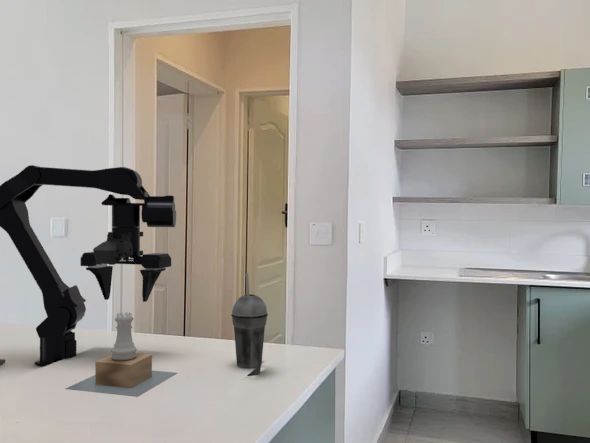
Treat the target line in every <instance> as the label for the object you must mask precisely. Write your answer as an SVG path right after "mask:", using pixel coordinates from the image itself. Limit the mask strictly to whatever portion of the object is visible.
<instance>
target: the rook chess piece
mask: <svg viewBox="0 0 590 443" xmlns="http://www.w3.org/2000/svg"><path fill="white" fill-rule="evenodd" d="M114 320H115V322H116V323H117V324H116V327H115V328H116V340H115V344H113V345H114V346H113V347H112V348H111V355H112V356H111V357H112V358H113V360H116V361H127V360H132V359H134V358H135V357H136V356H137V354H138V353H136V351H137V347H136V346H135V344H134V342H133V337H132V328H133V326H132V322H133V321H134V317H133V316H132V313H131V312H124V313H123V312H118V313H116V317H115V318H114Z"/></svg>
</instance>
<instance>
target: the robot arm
mask: <svg viewBox="0 0 590 443" xmlns="http://www.w3.org/2000/svg"><path fill="white" fill-rule="evenodd" d="M142 180H143V179H142V177H141V175H140V174H139V172H138V171H136V170H134V169H132V168H129V167H126V166H118V167H110V168H103V169H96V170H95V169H94V170H92V169H91V170H88V169H76V168H60V167H59V168H57V167H47V166H38V165H35V164H33V165H32V164H31V165H27V166H26V167H25V168H23V169H22V170H21V171H20V172H18V173H17V174H16V175H13V177H11V178H9V179H7V180H5V181H4V182H3V183H2V184H0V228H1V229H2V230H4V231H5V233H7V235H8V236H9V237H10V240H11V241H12V243H13V244H14V247H15V248H16V250H17V251H18V253H19V255H20V257H21V258H22V260H23V262H24V264H25V266H26V267H27V269H28V271H29V272H30V274H31V276H32V278H33V279H34V282H35V283H36V285H37V286H38V288H39V289H40V291H41V294H42V302H43V309H44V311H45V313H46V317H45V319H44V320H43V321H41V322H40V323H39V324H38V325H37V327H35V331H36V333H37V334H36V335H37V336H38V338H39V360H37V361H34V365H35V366H44V367H45V366H49V365H52V364H54V363H57V362H60V361H63V360H66V359H67V360H69V359H72V358H75V357H76V356H77V340H76V333H75V332H74V331H72V330H75V329H76V326H77V324H78V322H80V321H82V319H84V316H85V314H86V310H87V309H86V305H85V302H87V300H86V299H85V298H84V297H83V295H81V292H80V290H79V287H78V285H77V284H75V285H73V286H71V287H70V286H68V285H67V284H66V283H65V282H64V281H63V279H62V278H61V276H60V274H59V273H58V271H57V269H56V268H55V266H54V263H53V262H52V260H51V258H50V257H49V255H48V254H47V252H46V249H44V247H43V245H42V243H41V241H40V240H39V237H38V236H37V235H36V233H35V231H34V229H33V227H32V226H31V223H30V218H29V210H28V207H27V205H26V202H28V201H29V200H30V199H32V197H33V196H34V195H35V193H36V192H38V190H39V189H40V188H41V187H43V186H56V187H57V186H58V187H70V188H73V187H74V188H89V189H97V190H102V191H105V192H110V193H114V194H117V195H123V196H130V197H131V198H132V199H134V200H138V201H143V202H131V199H130V198H129V197H115V195H114V194H108V196H107V198H105V199H103V201H102V202H101V206H111V231H108V232H107V235H106V236H107V238H106V240H105V241H102V242H101V243H100V244H98V245H96V246H95V247H93V251H88V252H83V253H82V255H81V256H80V267H85V269H86V271H89V272H90V273H92V274H93V275H94V276H95V279H96V281H97V284H98V286H99V288H100V291H101V293H102V296H103V299H104V300H106V301H107V300H110V296H111V292H112V291H111V290H112V289H111V288H112V278H113V271H114V270H113V269H114V265H138V266H139V265H141V266H142V268H143V269H140V270H139V271H140V274H141V276H142V289H141V290H142V292H141V294H142V295H141V296H142V302H143V303H146V302H147V301H148V300H149V297H150V295H151V294H152V290H153V289H154V286H155V284H156V282H157V281H158V278H159V277H160V275H161V273H162V272H164V271H166V269H167V268H168V267H169V268H170V267H172V257H171V255H170V254H169V253H164V252H163V253H162V252H161V253H159V252H157V253H155V252H154V253H153V252H152V253H147V254H144V250H141V237H144V231H141V221H142V223H143V224H144V223H146V226H147V227H148V228H176V225H177V223H176V222H177V210H176V204H175V196H174V195H162V196H161V195H160V196H159V195H157V196H155V195H154V196H153V195H150V194H149V192H148V191H147V190H146V188H145V187H144V186H143V181H142Z"/></svg>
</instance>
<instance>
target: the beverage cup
mask: <svg viewBox="0 0 590 443" xmlns="http://www.w3.org/2000/svg"><path fill="white" fill-rule="evenodd" d="M245 285H246V286H245V287H246V288H245V289H246V294H244V295H242V296H240V297H239V298H238V299H237V300H236V301H235V302H234V304H233V306H232V312H231V317H232V318H231V321H232V325H233V332H234V344H235V358H236V360H235V361H236V366H237V367H238V368H241V369H245V370H246V369H254V370H252V371H250V372H249V373H248V374H247V375H246V377H251V376H258V375H260V374H261V370H262V362H263V361H262V360H263V351H264V339H265V330H266V329H265V328H266V325H267V320H268V319H267V318H268V310H267V305H266V302H264V300H263V299H262V298H261V297H260V296H258V295H256V294H250V284H249V272H245Z"/></svg>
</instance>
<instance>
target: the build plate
mask: <svg viewBox="0 0 590 443" xmlns="http://www.w3.org/2000/svg"><path fill="white" fill-rule="evenodd" d="M177 374H178V372H174V371H173V372H171V371H162V370H152V377H150V378H148V379H146V380H145V381H143V382H141V383H139V384H137V385H135V386H134V387H132V388H125V387H115V386H106V385H96V384H95V374H94V375H91V376H90V377H88V378H85V379H84V380H81V381H78V382H77V383H75V384H72V385H70V386H67V387H66V388H64V389H65V390H70V391H71V390H72V391H80V392H90V393H99V394H108V395H118V396H128V397H136V398H138V397H140V396H142V395H143V394H145V393H146V392H148V391H150V390H152V389H154V388H155V387H156V386H158V385H160V384H162V383H163V382H166V381H167V380H168V379H170V378H172V377H174V376H176V375H177Z"/></svg>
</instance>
